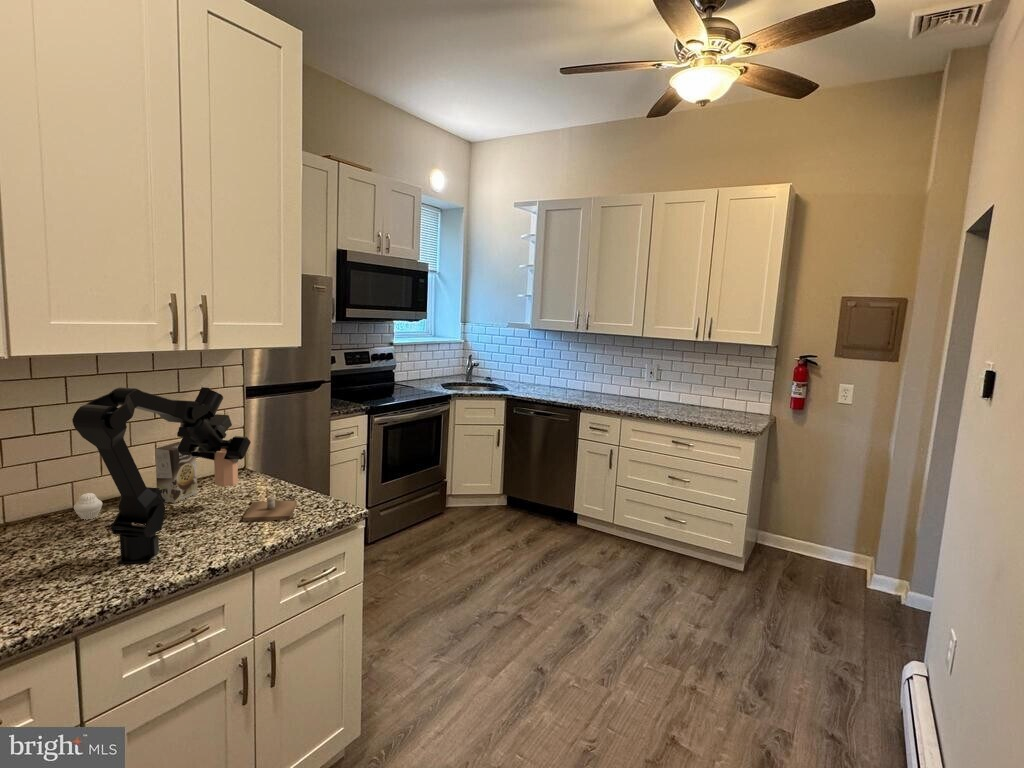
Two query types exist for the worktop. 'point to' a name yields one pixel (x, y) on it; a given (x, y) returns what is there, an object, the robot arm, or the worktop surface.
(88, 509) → the muffin
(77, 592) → the worktop surface
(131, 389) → the robot arm
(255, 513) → the post stand
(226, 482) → the terracotta collar
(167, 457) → the coffee box
